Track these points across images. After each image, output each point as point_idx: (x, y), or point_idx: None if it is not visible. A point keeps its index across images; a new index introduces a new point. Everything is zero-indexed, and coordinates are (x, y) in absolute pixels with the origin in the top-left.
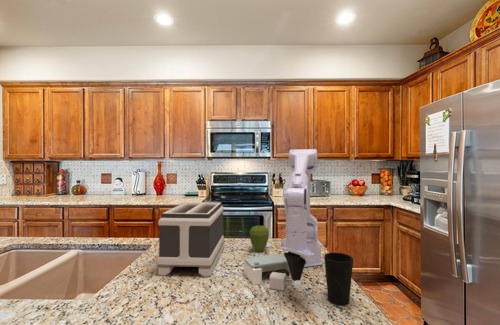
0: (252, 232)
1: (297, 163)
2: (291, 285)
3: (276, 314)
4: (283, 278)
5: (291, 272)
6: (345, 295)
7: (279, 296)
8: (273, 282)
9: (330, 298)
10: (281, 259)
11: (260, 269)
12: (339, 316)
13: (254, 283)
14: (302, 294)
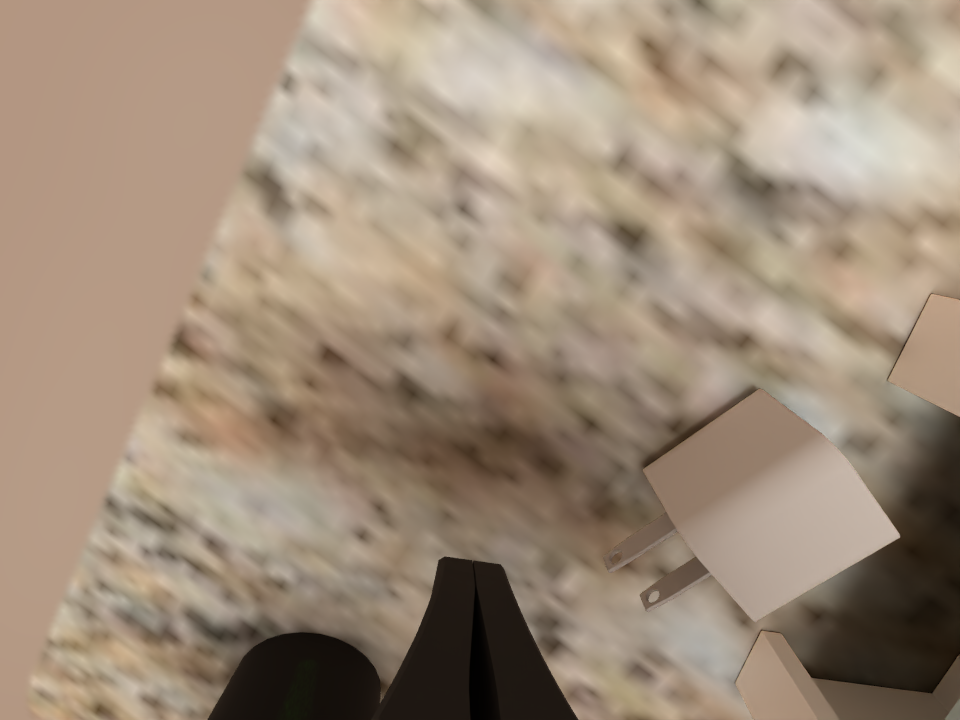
0: None
1: None
2: (614, 550)
3: (356, 165)
4: (692, 541)
5: (485, 629)
6: None
7: (593, 380)
8: (755, 439)
9: (299, 657)
10: None
11: None
12: (133, 563)
13: (939, 308)
14: (507, 551)
